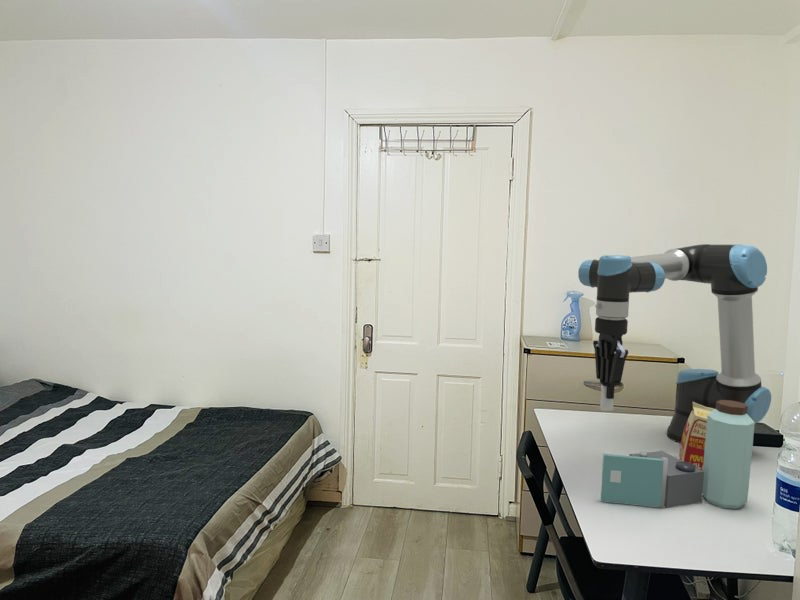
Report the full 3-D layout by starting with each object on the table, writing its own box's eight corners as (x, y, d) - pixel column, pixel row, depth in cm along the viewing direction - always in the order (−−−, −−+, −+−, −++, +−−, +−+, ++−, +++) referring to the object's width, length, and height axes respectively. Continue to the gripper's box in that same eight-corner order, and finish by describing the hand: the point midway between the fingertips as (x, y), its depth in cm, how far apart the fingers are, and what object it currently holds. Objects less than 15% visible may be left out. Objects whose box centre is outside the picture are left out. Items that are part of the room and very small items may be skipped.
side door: (663, 505, 136) (667, 457, 135) (665, 508, 134) (668, 459, 133) (600, 498, 139) (603, 451, 137) (601, 501, 137) (604, 454, 136)
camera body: (659, 478, 152) (662, 447, 151) (701, 502, 138) (704, 467, 137) (626, 483, 149) (628, 450, 148) (665, 507, 135) (668, 472, 134)
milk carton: (681, 476, 154) (687, 405, 152) (677, 463, 163) (682, 396, 160) (718, 481, 151) (725, 409, 149) (712, 468, 159) (718, 400, 157)
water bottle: (746, 514, 133) (756, 412, 130) (699, 503, 138) (707, 405, 135) (746, 498, 141) (756, 402, 138) (702, 488, 146) (710, 395, 144)
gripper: (584, 314, 144) (580, 402, 147) (610, 321, 132) (605, 418, 134) (612, 313, 145) (607, 401, 148) (640, 321, 133) (634, 417, 135)
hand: (606, 409), depth 141 cm, fingers closed
